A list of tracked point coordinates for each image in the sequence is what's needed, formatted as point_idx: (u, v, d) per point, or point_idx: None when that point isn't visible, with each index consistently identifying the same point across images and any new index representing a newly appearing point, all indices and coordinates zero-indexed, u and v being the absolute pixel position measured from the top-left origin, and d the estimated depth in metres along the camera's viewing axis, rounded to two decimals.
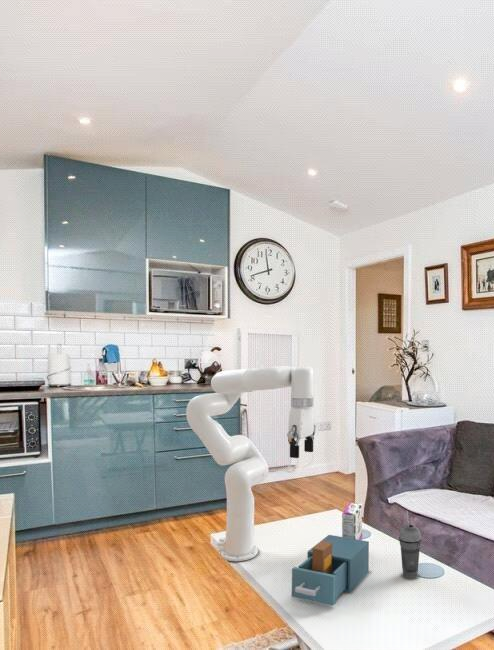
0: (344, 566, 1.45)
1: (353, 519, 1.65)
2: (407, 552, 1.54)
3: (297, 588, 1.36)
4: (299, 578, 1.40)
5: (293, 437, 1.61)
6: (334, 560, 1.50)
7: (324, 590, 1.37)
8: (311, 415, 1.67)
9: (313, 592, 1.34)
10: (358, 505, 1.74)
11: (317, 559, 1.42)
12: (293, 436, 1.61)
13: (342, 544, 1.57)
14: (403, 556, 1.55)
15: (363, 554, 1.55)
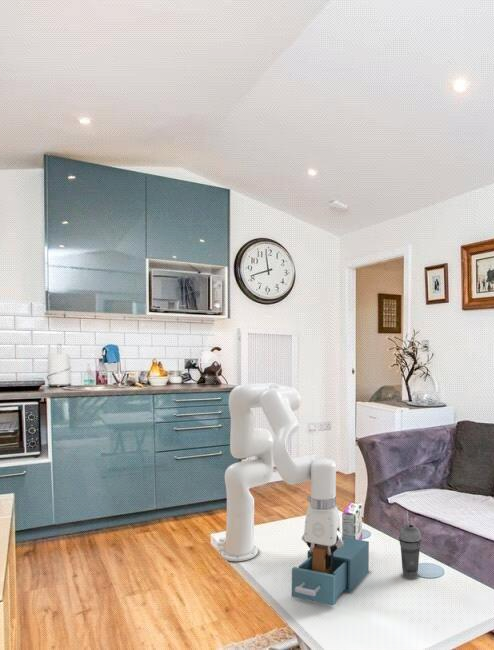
0: (344, 566, 1.45)
1: (353, 519, 1.65)
2: (407, 552, 1.54)
3: (297, 588, 1.36)
4: (299, 578, 1.40)
5: None
6: (334, 560, 1.50)
7: (324, 590, 1.37)
8: None
9: (313, 592, 1.34)
10: (358, 505, 1.74)
11: (317, 559, 1.42)
12: None
13: None
14: (403, 556, 1.55)
15: (363, 554, 1.55)
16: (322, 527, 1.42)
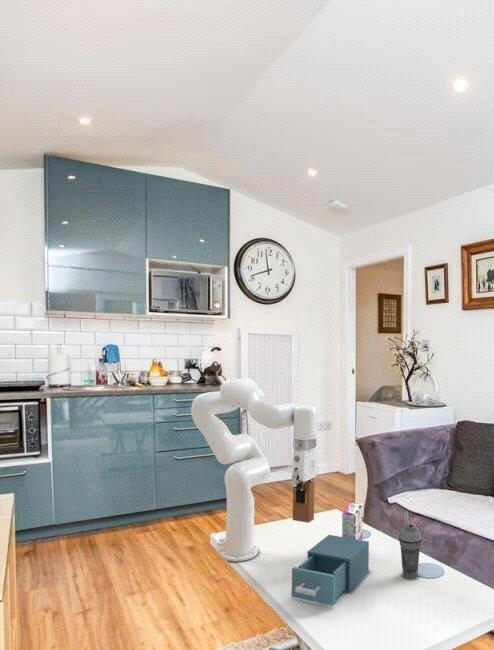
0: (344, 566, 1.45)
1: (353, 519, 1.65)
2: (407, 552, 1.54)
3: (297, 588, 1.36)
4: (299, 578, 1.40)
5: None
6: (334, 560, 1.50)
7: (324, 590, 1.37)
8: None
9: (313, 592, 1.34)
10: (358, 505, 1.74)
11: (311, 492, 1.59)
12: None
13: (342, 544, 1.57)
14: (403, 556, 1.55)
15: (363, 554, 1.55)
16: (313, 462, 1.61)
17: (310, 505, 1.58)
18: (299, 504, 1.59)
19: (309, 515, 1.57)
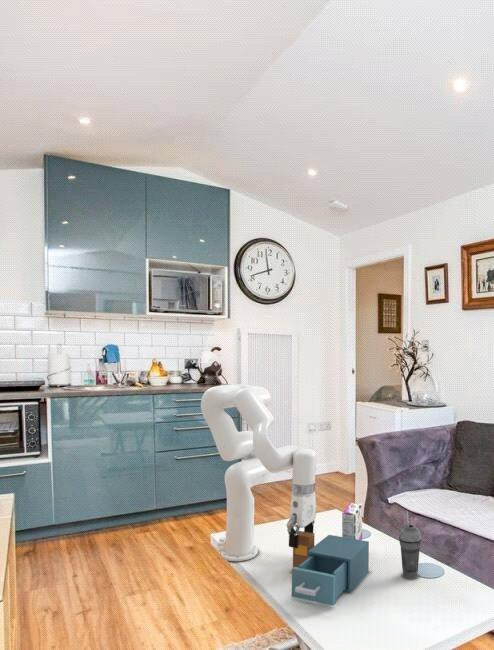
0: (344, 566, 1.45)
1: (353, 519, 1.65)
2: (407, 552, 1.54)
3: (297, 588, 1.36)
4: (299, 578, 1.40)
5: None
6: (334, 560, 1.50)
7: (324, 590, 1.37)
8: None
9: (313, 592, 1.34)
10: (358, 505, 1.74)
11: (311, 544, 1.58)
12: None
13: (342, 544, 1.57)
14: (403, 556, 1.55)
15: (363, 554, 1.55)
16: (312, 507, 1.60)
17: None
18: (299, 556, 1.57)
19: None
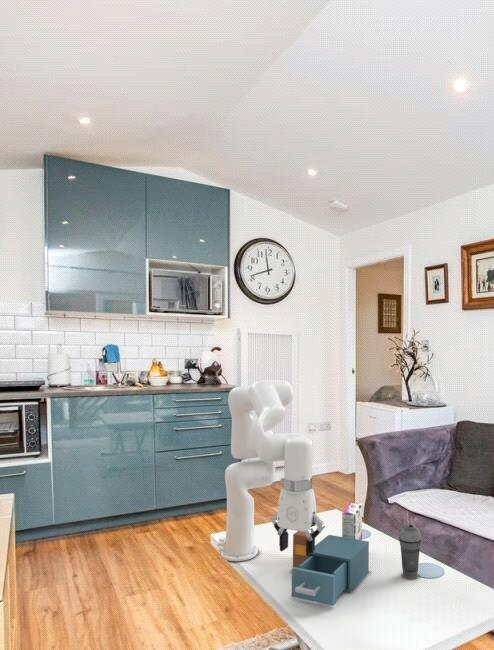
0: (344, 566, 1.45)
1: (353, 519, 1.65)
2: (407, 552, 1.54)
3: (297, 588, 1.36)
4: (299, 578, 1.40)
5: (309, 529, 1.30)
6: (334, 560, 1.50)
7: (324, 590, 1.37)
8: None
9: (313, 592, 1.34)
10: (358, 505, 1.74)
11: None
12: None
13: (342, 544, 1.57)
14: (403, 556, 1.55)
15: (363, 554, 1.55)
16: (296, 511, 1.29)
17: None
18: (299, 556, 1.57)
19: None
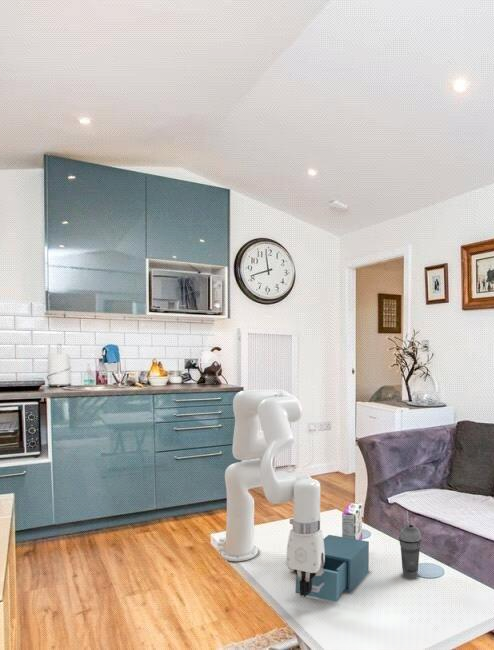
0: (347, 563, 1.47)
1: (353, 519, 1.65)
2: (407, 552, 1.54)
3: None
4: None
5: None
6: None
7: (327, 587, 1.39)
8: None
9: (317, 588, 1.36)
10: (358, 505, 1.74)
11: None
12: None
13: (342, 544, 1.57)
14: (403, 556, 1.55)
15: (363, 554, 1.55)
16: (305, 553, 1.33)
17: None
18: None
19: None
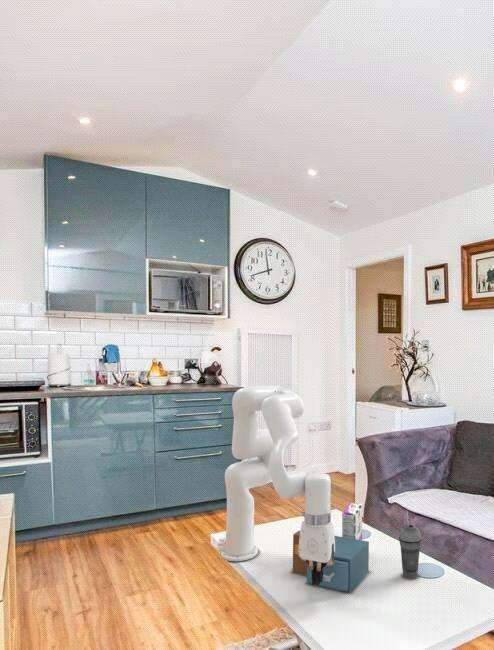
0: None
1: (353, 519, 1.65)
2: (407, 552, 1.54)
3: None
4: None
5: (322, 561, 1.41)
6: None
7: (338, 576, 1.45)
8: None
9: (328, 578, 1.42)
10: (358, 505, 1.74)
11: None
12: None
13: (342, 544, 1.57)
14: (403, 556, 1.55)
15: (363, 554, 1.55)
16: (317, 543, 1.39)
17: None
18: (299, 556, 1.57)
19: None
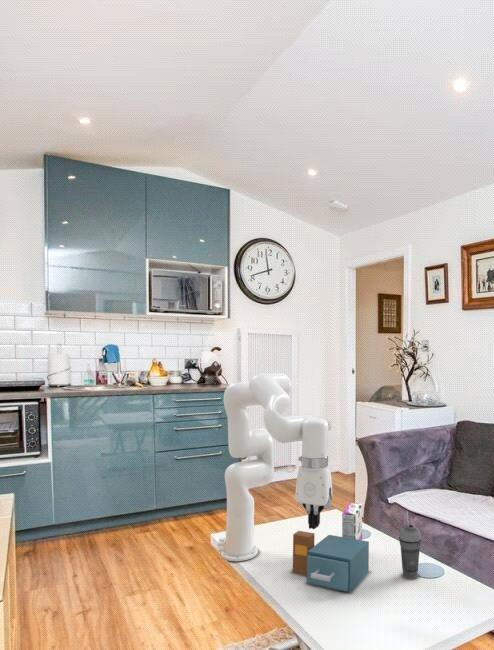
0: None
1: (353, 519, 1.65)
2: (407, 552, 1.54)
3: (313, 574, 1.44)
4: (314, 565, 1.49)
5: (319, 505, 1.40)
6: None
7: (338, 576, 1.45)
8: None
9: (328, 578, 1.42)
10: (358, 505, 1.74)
11: (311, 544, 1.58)
12: None
13: (342, 544, 1.57)
14: (403, 556, 1.55)
15: (363, 554, 1.55)
16: (314, 487, 1.38)
17: None
18: (299, 556, 1.57)
19: None
